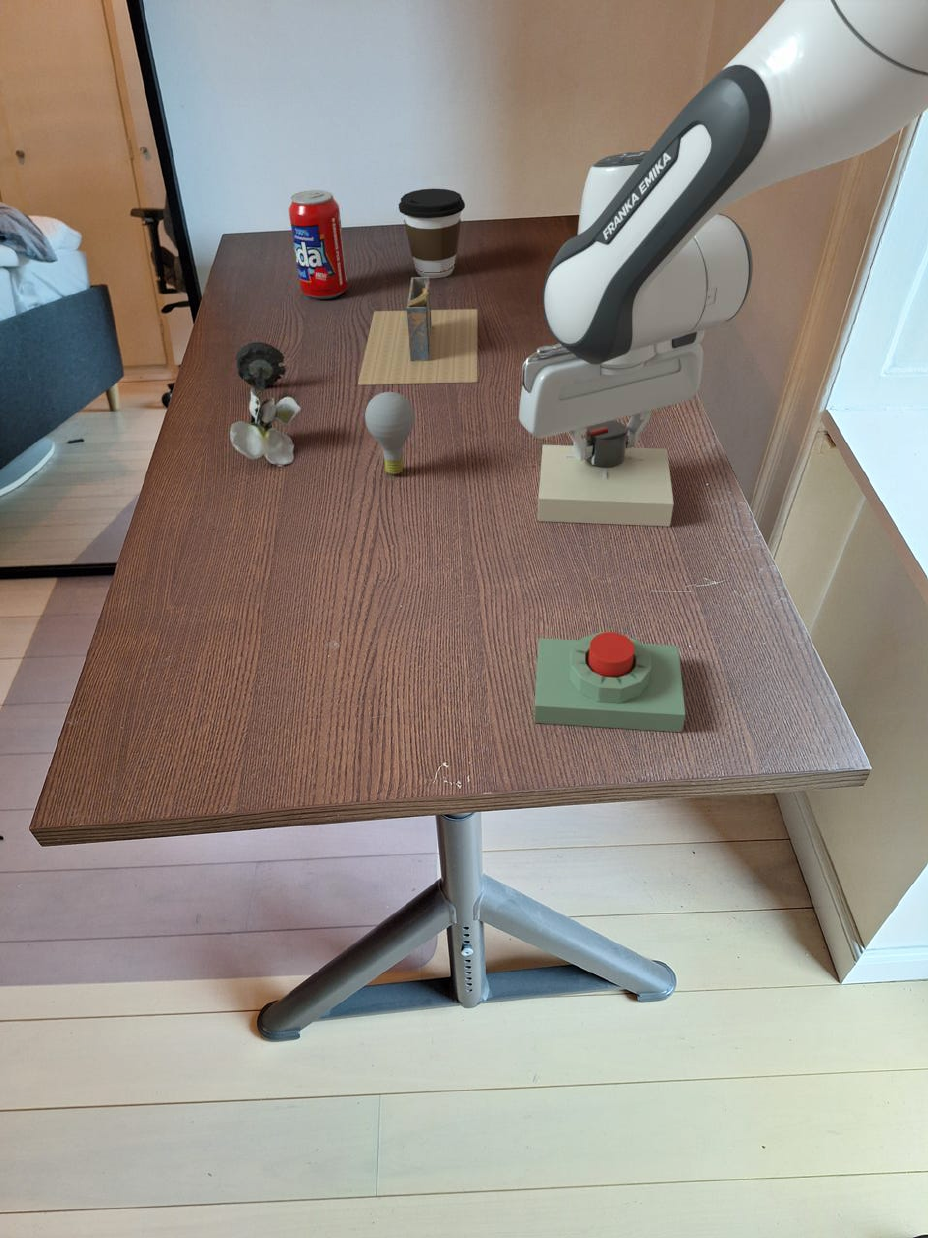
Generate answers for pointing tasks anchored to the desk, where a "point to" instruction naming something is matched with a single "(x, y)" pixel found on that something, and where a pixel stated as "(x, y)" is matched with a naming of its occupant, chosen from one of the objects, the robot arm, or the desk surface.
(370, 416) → the light bulb
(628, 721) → the box
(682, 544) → the desk surface
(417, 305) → the ruin model on sheet
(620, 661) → the button
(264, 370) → the artificial flower
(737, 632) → the desk surface
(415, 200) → the coffee cup
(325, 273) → the soda can
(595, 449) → the burner knob
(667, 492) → the stove panel
